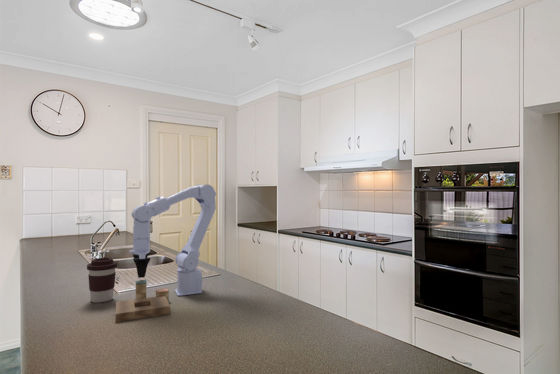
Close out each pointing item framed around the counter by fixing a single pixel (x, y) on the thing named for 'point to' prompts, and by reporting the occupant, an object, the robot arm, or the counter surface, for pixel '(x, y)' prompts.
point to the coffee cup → (101, 279)
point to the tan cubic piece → (163, 293)
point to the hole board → (142, 308)
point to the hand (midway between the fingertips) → (140, 274)
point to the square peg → (141, 289)
